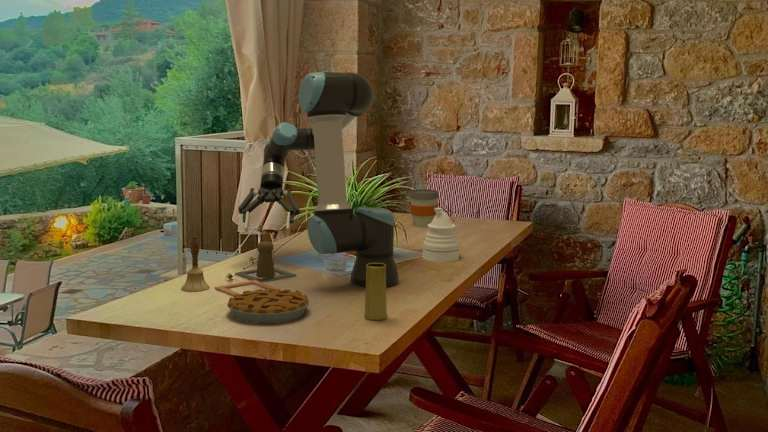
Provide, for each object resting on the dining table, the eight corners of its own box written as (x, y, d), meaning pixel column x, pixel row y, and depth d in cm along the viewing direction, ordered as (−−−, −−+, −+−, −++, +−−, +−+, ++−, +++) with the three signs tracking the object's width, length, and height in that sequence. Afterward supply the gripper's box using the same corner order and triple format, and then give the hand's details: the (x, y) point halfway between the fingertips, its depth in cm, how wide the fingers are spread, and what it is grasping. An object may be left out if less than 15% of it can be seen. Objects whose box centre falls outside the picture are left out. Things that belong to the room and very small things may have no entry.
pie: (240, 301, 229) (240, 284, 228) (316, 304, 226) (316, 287, 226) (216, 324, 207) (216, 305, 206) (300, 327, 205) (300, 308, 204)
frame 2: (296, 276, 257) (296, 274, 257) (258, 283, 248) (258, 281, 248) (272, 268, 268) (272, 266, 267) (235, 274, 258) (235, 272, 258)
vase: (363, 314, 217) (363, 262, 214) (386, 313, 217) (386, 262, 215) (364, 320, 211) (365, 267, 208) (388, 320, 211) (388, 267, 209)
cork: (271, 278, 254) (271, 244, 252) (253, 277, 255) (252, 243, 254) (277, 273, 260) (277, 240, 258) (260, 272, 261) (259, 239, 259)
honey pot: (440, 263, 278) (442, 212, 275) (415, 257, 287) (416, 207, 284) (466, 258, 286) (467, 208, 283) (440, 252, 295) (441, 203, 292)
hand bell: (214, 286, 244) (213, 234, 241) (200, 293, 236) (198, 239, 233) (191, 283, 246) (189, 232, 244) (175, 290, 239) (173, 237, 236)
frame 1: (280, 291, 239) (280, 289, 239) (239, 298, 230) (239, 296, 230) (255, 281, 250) (255, 279, 249) (214, 289, 240) (214, 287, 240)
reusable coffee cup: (442, 224, 352) (442, 190, 350) (431, 229, 341) (432, 194, 338) (415, 222, 357) (416, 188, 355) (404, 226, 346) (405, 192, 343)
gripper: (309, 185, 279) (305, 236, 267) (237, 185, 279) (230, 236, 267) (308, 172, 273) (304, 224, 261) (234, 171, 273) (227, 223, 260)
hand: (267, 230), depth 264 cm, fingers open, 13 cm apart
